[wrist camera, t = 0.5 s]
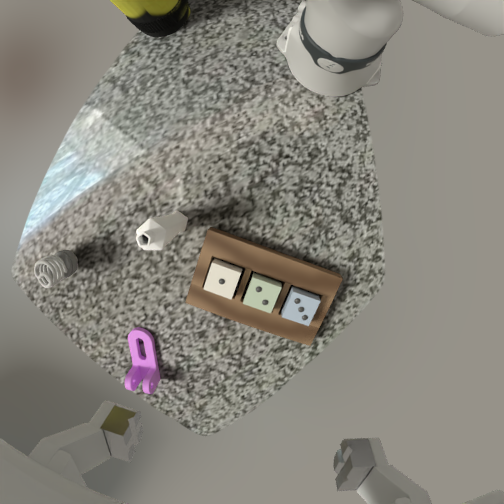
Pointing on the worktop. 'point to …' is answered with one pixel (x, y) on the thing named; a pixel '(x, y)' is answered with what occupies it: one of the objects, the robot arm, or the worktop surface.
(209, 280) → the tile
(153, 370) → the bracket
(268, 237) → the worktop surface
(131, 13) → the container
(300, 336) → the dice board
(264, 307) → the tile
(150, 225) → the white faceted bottle
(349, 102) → the worktop surface
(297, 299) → the tile
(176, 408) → the worktop surface
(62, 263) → the light bulb
